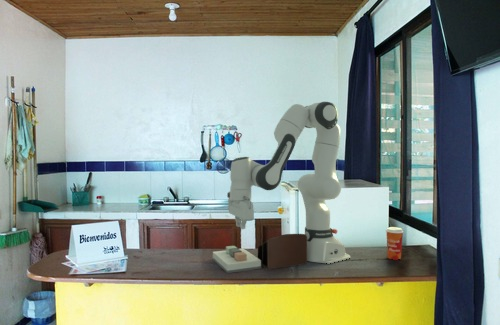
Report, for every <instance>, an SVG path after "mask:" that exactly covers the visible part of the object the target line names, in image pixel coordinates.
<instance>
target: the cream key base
mask: <svg viewBox="0 0 500 325" xmlns="http://www.w3.org/2000/svg"><path fill="white" fill-rule="evenodd" d="M239 249H240V250H241V251H242V252H244V253H246V254H247V260H246V261H238V262H237V261H236V260H235V259H234V258H232V257H231V256H230V254H229V255H228V254H227V253H226V249H225V250H219V251H217V250H216V251H212V260H213V262H215V263H216V264H217V265H218V266H219V267H220V268H221V269H223V270H224V272H226V273H227V274H231V273H239V272H246V271H251V270H252V271H253V270H261V269H262V266H261V260H260V259H258V256H255V255H254V254H252V253H251V252H249V251H248V250H246V249H245V248H239Z"/></svg>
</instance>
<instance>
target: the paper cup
mask: <svg viewBox="0 0 500 325" xmlns="http://www.w3.org/2000/svg"><path fill="white" fill-rule="evenodd" d="M385 233H386V251H387V252H386V253H387V259H388V260H391V259H393V260H392V261H399V260H398V259H400V260H401V258H402V248H403V236H404V235H403V233H405V232H404V230H403V228H401V227H396V226H390V227H389V226H388V227H387V228H386V230H385Z"/></svg>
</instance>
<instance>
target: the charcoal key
mask: <svg viewBox="0 0 500 325" xmlns="http://www.w3.org/2000/svg"><path fill="white" fill-rule="evenodd" d="M240 249H241V248H237V249H231V250H230V256H231V257H232V258H235V253H238V252H242V251H241V250H240Z"/></svg>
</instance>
